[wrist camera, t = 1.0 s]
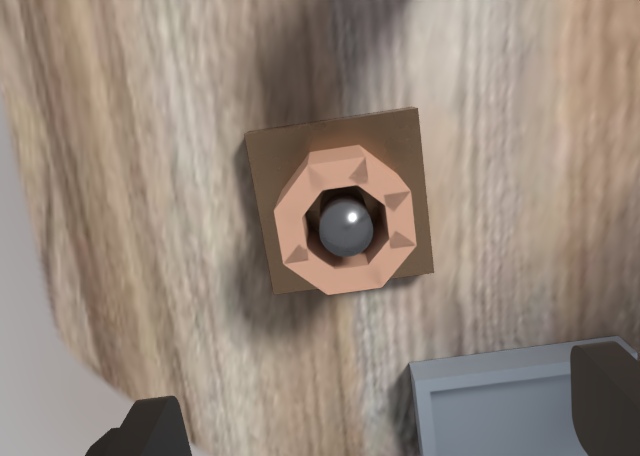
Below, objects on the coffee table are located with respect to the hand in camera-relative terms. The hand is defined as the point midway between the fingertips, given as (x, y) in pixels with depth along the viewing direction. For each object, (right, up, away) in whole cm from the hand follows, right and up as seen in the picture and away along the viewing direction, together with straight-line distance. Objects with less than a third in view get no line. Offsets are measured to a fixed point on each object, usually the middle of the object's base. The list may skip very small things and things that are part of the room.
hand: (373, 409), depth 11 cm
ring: (0, +5, +18) cm, 18 cm away
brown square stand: (0, +5, +19) cm, 20 cm away
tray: (+11, -10, +23) cm, 28 cm away
